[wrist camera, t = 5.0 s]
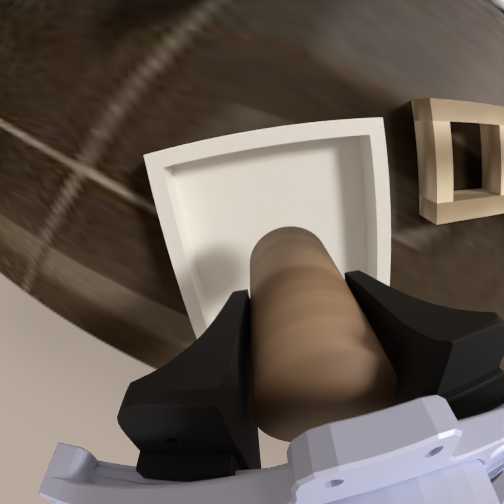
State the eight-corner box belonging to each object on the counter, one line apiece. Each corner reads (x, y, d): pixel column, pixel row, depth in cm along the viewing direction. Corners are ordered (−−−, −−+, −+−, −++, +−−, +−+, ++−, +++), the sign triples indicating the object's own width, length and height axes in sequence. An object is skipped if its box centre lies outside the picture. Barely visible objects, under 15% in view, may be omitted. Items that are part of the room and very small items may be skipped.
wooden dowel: (327, 291, 16) (383, 427, 8) (255, 301, 16) (260, 449, 8) (325, 221, 14) (409, 336, 6) (244, 231, 15) (239, 365, 6)
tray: (375, 300, 22) (387, 318, 20) (204, 329, 23) (200, 349, 21) (367, 118, 17) (382, 117, 15) (156, 152, 18) (143, 155, 16)
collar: (491, 203, 19) (509, 212, 17) (419, 214, 20) (436, 224, 17) (488, 106, 16) (508, 107, 14) (411, 100, 16) (429, 98, 14)
